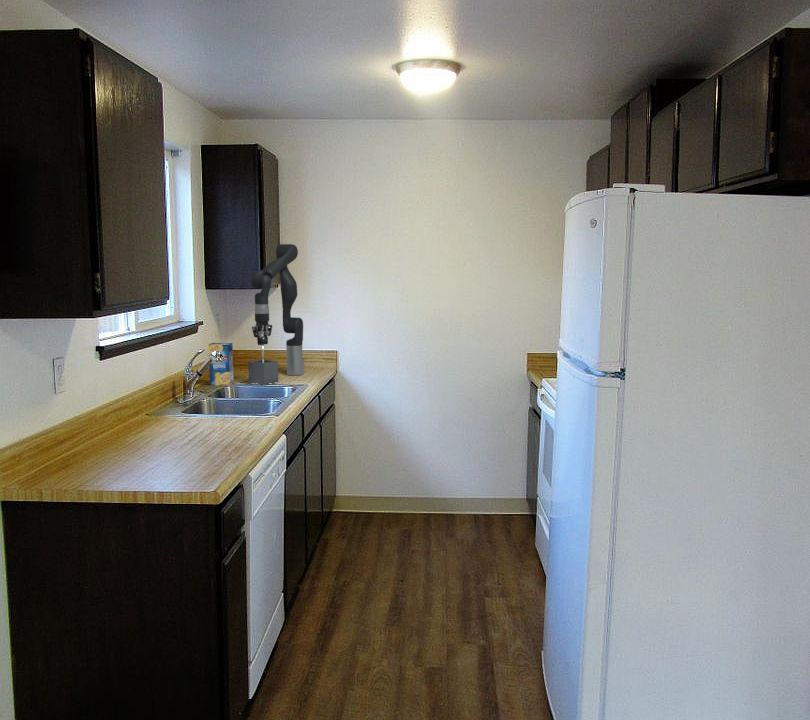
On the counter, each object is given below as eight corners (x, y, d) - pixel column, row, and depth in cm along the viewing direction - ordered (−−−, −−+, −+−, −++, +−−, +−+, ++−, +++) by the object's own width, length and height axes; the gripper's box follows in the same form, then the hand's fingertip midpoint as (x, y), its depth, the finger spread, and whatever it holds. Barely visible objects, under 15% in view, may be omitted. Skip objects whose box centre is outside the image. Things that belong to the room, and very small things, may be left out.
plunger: (262, 364, 403) (262, 335, 401) (274, 365, 398) (273, 336, 396) (252, 366, 396) (251, 336, 394) (263, 367, 392) (263, 337, 389)
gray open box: (263, 381, 406) (262, 359, 404) (278, 382, 400) (277, 361, 399) (249, 384, 397) (248, 361, 395) (264, 385, 391) (263, 363, 389)
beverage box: (230, 385, 392) (229, 344, 389) (209, 385, 392) (208, 344, 389) (233, 383, 399) (232, 342, 396) (213, 383, 399) (212, 342, 396)
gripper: (265, 311, 401) (266, 343, 403) (247, 313, 389) (248, 345, 391) (276, 312, 397) (276, 343, 400) (257, 313, 385) (258, 346, 388)
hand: (262, 344), depth 396 cm, fingers closed on plunger, 4 cm apart
